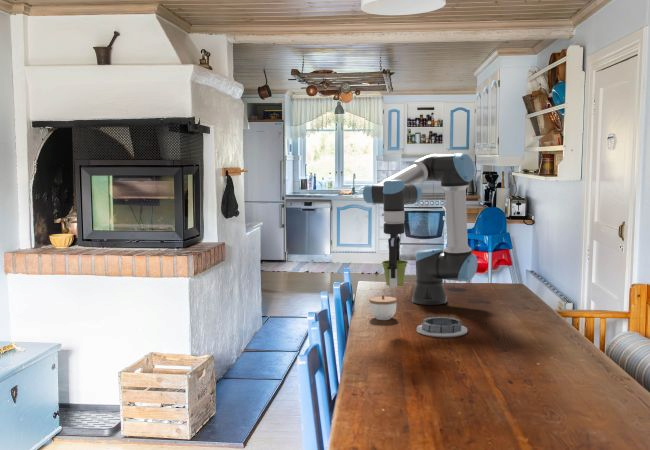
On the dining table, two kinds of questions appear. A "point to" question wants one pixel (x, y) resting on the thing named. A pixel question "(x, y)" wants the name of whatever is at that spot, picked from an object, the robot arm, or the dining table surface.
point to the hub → (441, 327)
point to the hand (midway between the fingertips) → (394, 284)
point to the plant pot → (400, 272)
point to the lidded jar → (383, 307)
